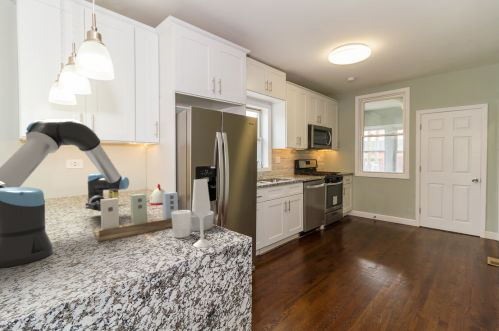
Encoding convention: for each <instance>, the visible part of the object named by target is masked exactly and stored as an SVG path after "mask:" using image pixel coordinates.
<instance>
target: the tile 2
mask: <svg viewBox="0 0 499 331" xmlns="http://www.w3.org/2000/svg"><path fill="white" fill-rule="evenodd" d="M147 201H148V200H147V193H136V194H135V193H134V194H130V210H131V211H130V216H131V219H130V220H131V223H132V225H135V224H140V223H146V222H147V220H148V207H147V206H148V202H147Z"/></svg>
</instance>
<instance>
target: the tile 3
mask: <svg viewBox="0 0 499 331" xmlns="http://www.w3.org/2000/svg"><path fill="white" fill-rule="evenodd" d="M178 196H179V194H178V192H177V191H171V192H166V193H163V205H162V218H163V220H164V219H170V218H172V215H171V212H173V211H177V210H179V199H178V198H179V197H178Z"/></svg>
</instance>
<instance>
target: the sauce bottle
mask: <svg viewBox="0 0 499 331" xmlns="http://www.w3.org/2000/svg"><path fill="white" fill-rule="evenodd" d="M110 198H118V204H119V203H120V202H119V190H108V199H110Z"/></svg>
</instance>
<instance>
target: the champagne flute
mask: <svg viewBox="0 0 499 331" xmlns="http://www.w3.org/2000/svg"><path fill="white" fill-rule="evenodd" d="M192 190H193V191H192V205H191V206H192V207H191V212H193V213H194V214H195V215H196V216H197V217H198V218H200V231H199V232H200V238H199V240H197V241H196V242H195V243H193V244H192V245H193V247H194V248H206V247H210V246H211V245H212V242H210V241H209V240H207V239H205V236H204V235H205V234H204V233H205V232H204V231H205V230H204V229H203V218H204V217H205V216H206V215H207V214H208V213H209V211H211V202H210V200H211V199H210V194H209V193H210V192H209V184H208V179H206V178H199V179H193V189H192Z"/></svg>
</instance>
